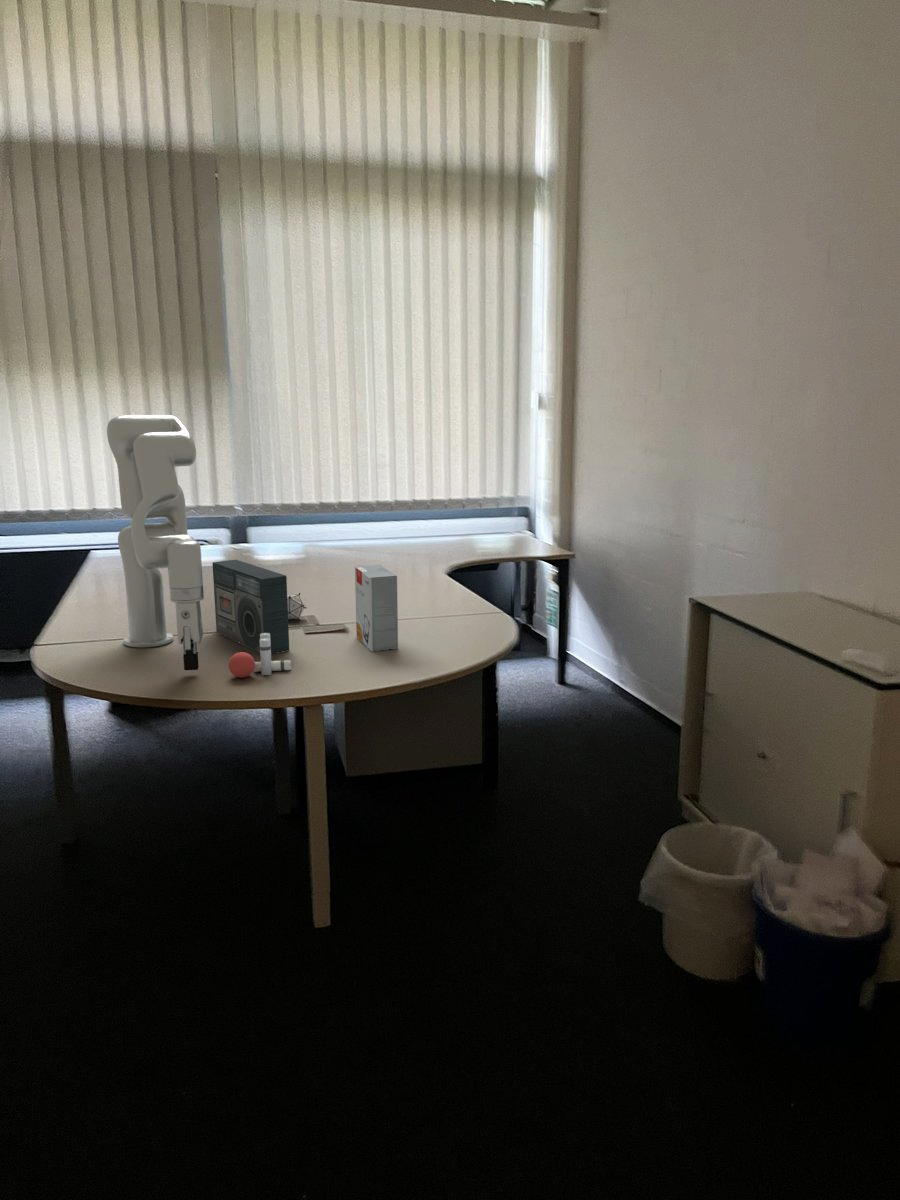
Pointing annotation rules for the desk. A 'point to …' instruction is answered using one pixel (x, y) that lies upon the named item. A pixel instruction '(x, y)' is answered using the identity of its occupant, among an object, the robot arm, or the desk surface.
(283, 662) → the front pin
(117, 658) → the desk surface
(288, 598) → the game die
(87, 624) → the desk surface
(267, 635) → the back left pin
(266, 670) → the back right pin
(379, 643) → the hard drive box
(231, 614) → the cassette player
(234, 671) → the ball
